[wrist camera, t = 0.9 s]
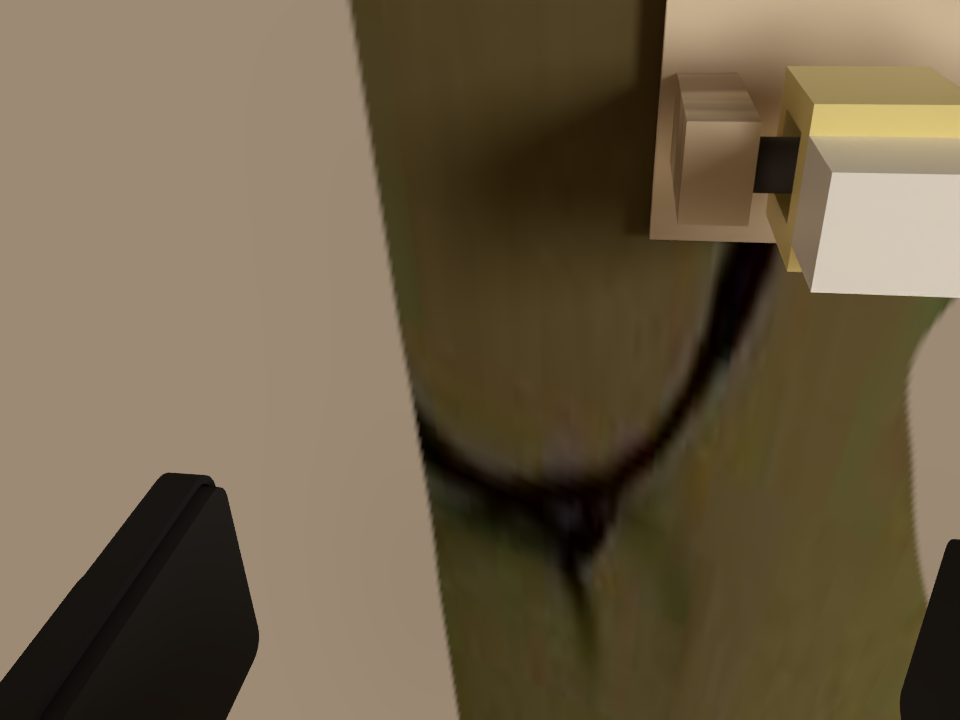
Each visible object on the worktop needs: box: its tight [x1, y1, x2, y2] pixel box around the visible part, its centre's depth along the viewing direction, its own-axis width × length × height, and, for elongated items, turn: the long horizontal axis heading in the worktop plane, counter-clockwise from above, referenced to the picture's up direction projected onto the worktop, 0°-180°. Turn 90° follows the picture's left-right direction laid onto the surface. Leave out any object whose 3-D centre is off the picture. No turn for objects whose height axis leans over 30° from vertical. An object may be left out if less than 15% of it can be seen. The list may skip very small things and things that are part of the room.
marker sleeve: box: [766, 66, 960, 298], centre depth 23 cm, size 5×4×8 cm
